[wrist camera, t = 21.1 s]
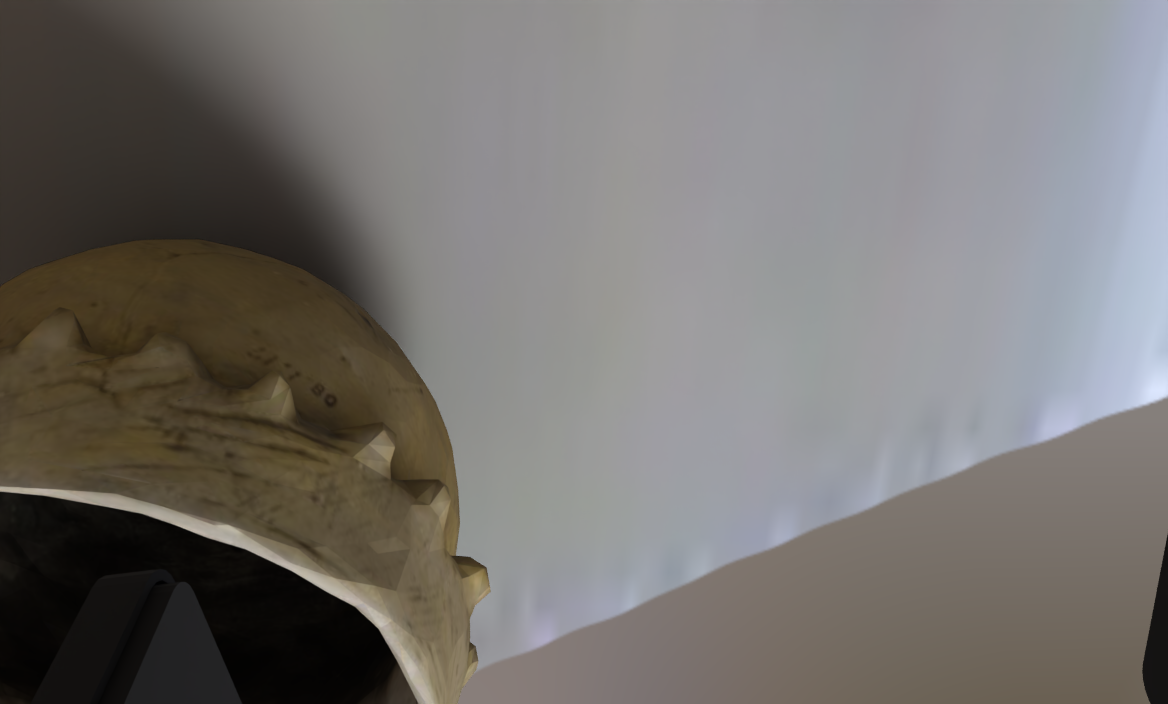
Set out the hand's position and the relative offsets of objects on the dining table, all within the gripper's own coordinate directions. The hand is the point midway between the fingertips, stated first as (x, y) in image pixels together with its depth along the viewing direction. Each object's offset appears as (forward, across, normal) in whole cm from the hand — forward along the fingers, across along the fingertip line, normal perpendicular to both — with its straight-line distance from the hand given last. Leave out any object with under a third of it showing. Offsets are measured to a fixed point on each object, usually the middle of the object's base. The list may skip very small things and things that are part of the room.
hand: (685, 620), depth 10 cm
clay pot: (+31, +16, +14) cm, 37 cm away
